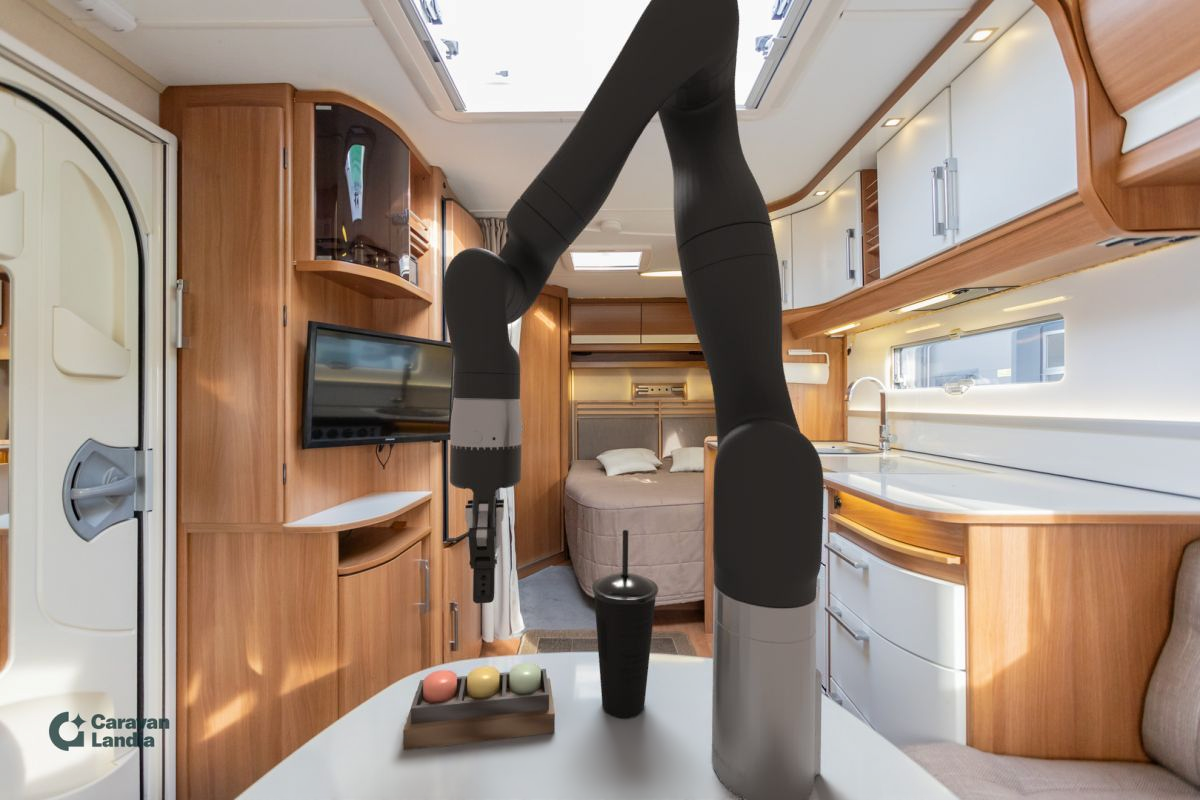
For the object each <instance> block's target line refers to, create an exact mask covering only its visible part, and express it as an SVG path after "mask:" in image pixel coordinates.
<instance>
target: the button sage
mask: <svg viewBox="0 0 1200 800" xmlns="http://www.w3.org/2000/svg"><path fill="white" fill-rule="evenodd" d="M541 669H542V668H541V667H540V666H539V665H537V664H536V663H533V662H522V663H519V664H516V665H514V666H513V667H511V668H510V670H509V672H510V684H509V688H510V691H511V692H512V693H514V694H517V695H526V694H533V693H535V692H536V691H538V690H539V688H540V686H541Z"/></svg>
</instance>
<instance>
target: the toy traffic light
mask: <svg viewBox="0 0 1200 800" xmlns="http://www.w3.org/2000/svg"><path fill="white" fill-rule="evenodd" d="M540 669H541V686H540V688H539V690H538V691H536V692H535V693H533V694H526V695H517V694H514V693H512V692H511V691H510V688H509V684H510V671H507V672H506V671H504V672H499V691H498V693H497V694H496V695H494V696H493V697H491V698H486V699H472V698H470V697H469V696H468V694H467V676H468V675H464V676H462V675H460V676H457V693H456V695H455V697H454V698H452V699H451V700H449V701H447V702H445V703H436V704H429V703H427V702H425V701H424V699H423V681H424V679H420V680H419V683H418V686H417V688H416V689H417V690H416V691H415V694H414V697H413V701H412V703H411V706H410V709H409V713H408V714H407V718H406V722H405V724H404V728H403V730H402V731H403V739H402V740H403V741H402V742H403V745H402V749H403V751H407V750H415V749H416V750H417V749H424V748H425V749H426V748H433V747H442V746H452V745H459V744H468V743H476V742H484V741H485V742H486V741H493V740H501V739H502V740H503V739H511V738H520V737H528V736H537V735H538V736H539V735H547V734H554V733H555V726H556V725H555V724H556V723H555V722H556V721H555V720H556V718H555V717H556V712H555V705H554V698H553V692H552V691H553V690H552V683H551V678H550V677H548V674H547V668H540Z"/></svg>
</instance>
